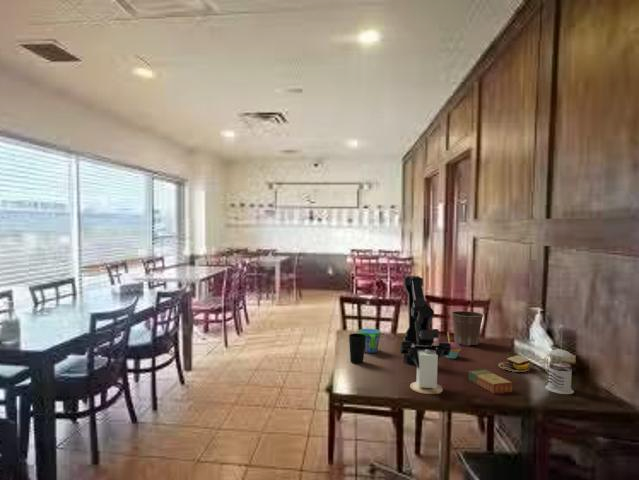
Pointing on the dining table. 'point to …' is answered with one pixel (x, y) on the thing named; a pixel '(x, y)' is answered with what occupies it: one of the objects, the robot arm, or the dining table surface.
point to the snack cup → (371, 339)
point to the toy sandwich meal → (516, 364)
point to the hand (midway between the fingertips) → (427, 368)
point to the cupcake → (453, 349)
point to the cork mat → (426, 389)
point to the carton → (490, 381)
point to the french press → (559, 372)
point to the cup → (357, 347)
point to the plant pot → (467, 327)
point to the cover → (427, 369)
